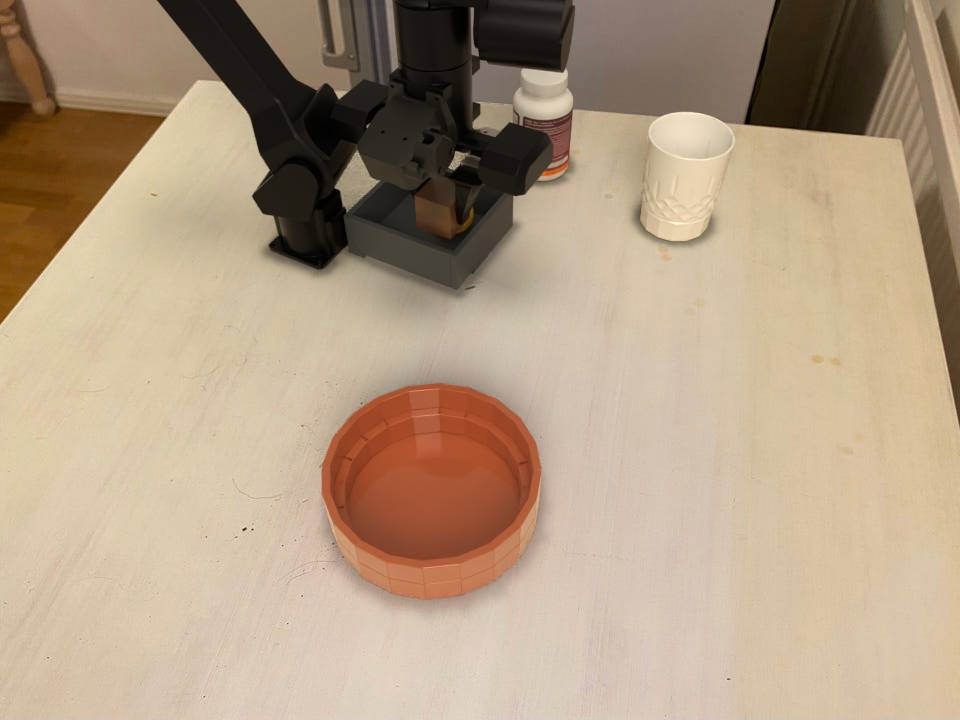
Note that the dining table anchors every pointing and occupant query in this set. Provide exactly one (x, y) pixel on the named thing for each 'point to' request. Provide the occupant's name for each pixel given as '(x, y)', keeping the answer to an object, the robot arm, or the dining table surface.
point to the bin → (425, 233)
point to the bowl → (432, 490)
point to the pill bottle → (546, 113)
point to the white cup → (683, 173)
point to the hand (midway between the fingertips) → (443, 215)
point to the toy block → (437, 208)
